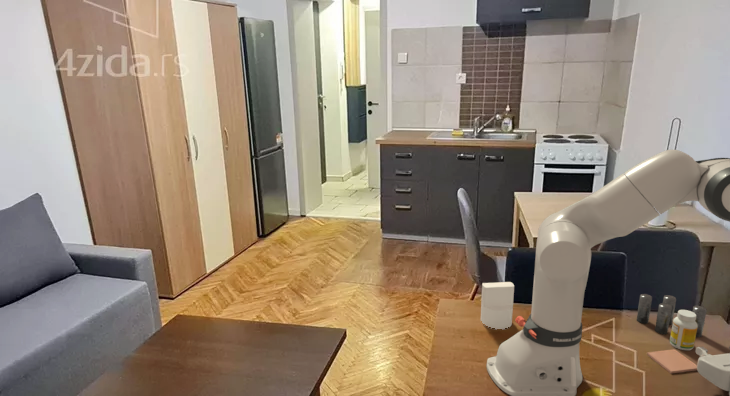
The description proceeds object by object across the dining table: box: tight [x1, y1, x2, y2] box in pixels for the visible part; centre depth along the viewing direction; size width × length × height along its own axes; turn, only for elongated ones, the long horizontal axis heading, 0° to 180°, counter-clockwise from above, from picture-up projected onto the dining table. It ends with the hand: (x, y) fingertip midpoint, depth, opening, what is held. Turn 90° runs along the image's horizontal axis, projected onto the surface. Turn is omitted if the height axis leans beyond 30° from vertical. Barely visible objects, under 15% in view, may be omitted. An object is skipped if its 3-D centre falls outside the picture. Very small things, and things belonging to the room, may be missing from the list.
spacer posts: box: [636, 293, 707, 338], centre depth 130 cm, size 12×12×8 cm
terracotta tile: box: [646, 348, 698, 374], centre depth 115 cm, size 8×8×1 cm
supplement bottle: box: [669, 309, 698, 351], centre depth 121 cm, size 5×5×10 cm
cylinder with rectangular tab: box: [480, 281, 515, 330], centre depth 135 cm, size 9×9×12 cm
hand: (715, 347), depth 112 cm, fingers open, 8 cm apart
